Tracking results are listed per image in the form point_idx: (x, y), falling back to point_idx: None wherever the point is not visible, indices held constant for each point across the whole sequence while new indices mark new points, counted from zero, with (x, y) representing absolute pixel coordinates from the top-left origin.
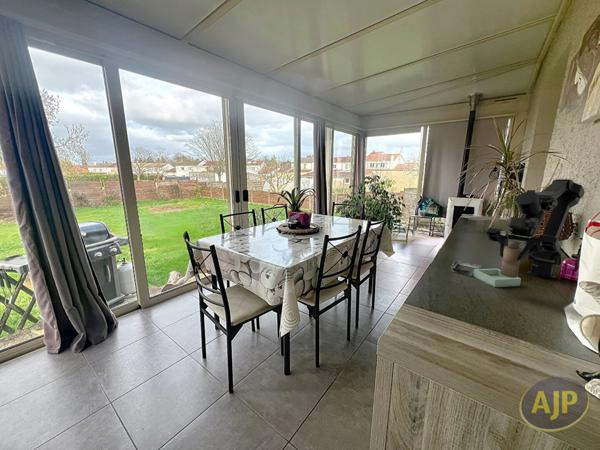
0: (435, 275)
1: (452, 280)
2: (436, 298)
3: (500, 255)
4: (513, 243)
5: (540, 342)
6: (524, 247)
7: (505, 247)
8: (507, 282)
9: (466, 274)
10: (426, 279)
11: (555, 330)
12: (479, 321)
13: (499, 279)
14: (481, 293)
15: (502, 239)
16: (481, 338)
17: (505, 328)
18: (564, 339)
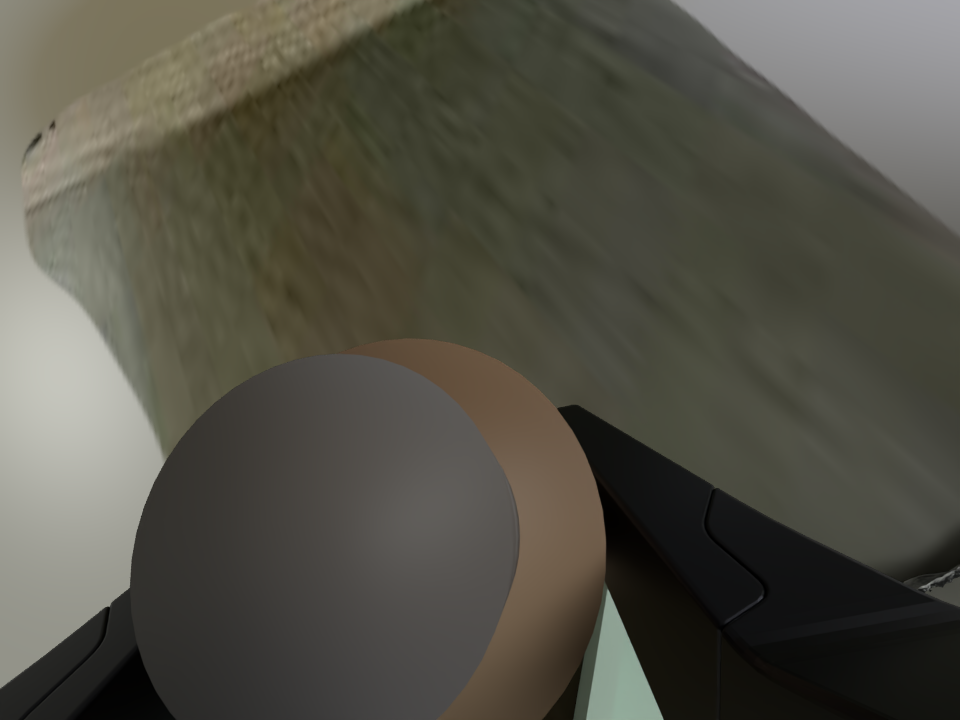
0: (935, 284)
1: (803, 333)
2: (578, 53)
3: (565, 408)
4: (261, 380)
5: (157, 164)
6: (105, 687)
7: (501, 381)
8: (584, 688)
9: (917, 576)
10: (857, 166)
11: (151, 308)
12: (343, 80)
13: (607, 596)
14: (548, 338)
15: (931, 654)
16: (274, 8)
17: (265, 130)
18: (111, 269)
